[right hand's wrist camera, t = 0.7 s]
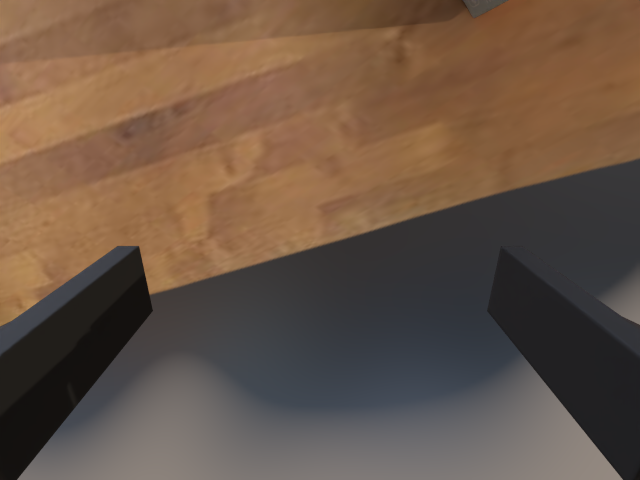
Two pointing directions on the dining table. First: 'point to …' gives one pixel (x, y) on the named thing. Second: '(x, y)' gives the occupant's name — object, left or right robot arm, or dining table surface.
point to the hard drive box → (481, 6)
